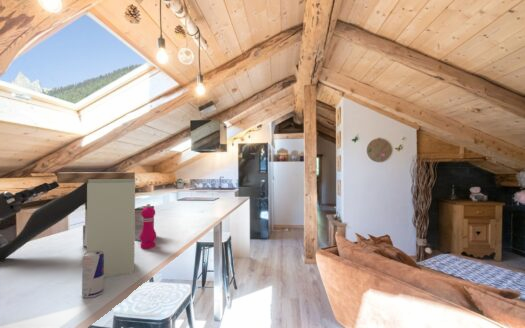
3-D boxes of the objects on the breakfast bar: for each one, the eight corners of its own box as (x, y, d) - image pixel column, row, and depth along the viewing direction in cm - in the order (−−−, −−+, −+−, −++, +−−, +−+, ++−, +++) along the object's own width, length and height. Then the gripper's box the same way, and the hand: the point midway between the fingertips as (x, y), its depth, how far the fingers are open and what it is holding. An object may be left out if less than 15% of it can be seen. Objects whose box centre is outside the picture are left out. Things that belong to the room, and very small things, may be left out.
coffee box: (142, 235, 141) (142, 205, 141) (154, 235, 141) (154, 205, 141) (133, 240, 132) (134, 208, 132) (146, 240, 132) (146, 208, 132)
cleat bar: (56, 183, 86) (57, 172, 86) (60, 182, 89) (60, 172, 89) (134, 181, 95) (134, 172, 95) (134, 181, 99) (134, 172, 99)
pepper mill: (159, 244, 125) (159, 202, 125) (151, 249, 118) (151, 205, 118) (144, 244, 125) (145, 202, 126) (136, 248, 118) (136, 204, 118)
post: (86, 279, 87) (87, 179, 87) (92, 268, 96) (92, 178, 96) (133, 272, 92) (133, 179, 92) (134, 262, 101) (135, 177, 102)
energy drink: (107, 291, 79) (108, 251, 79) (91, 299, 74) (91, 257, 74) (94, 288, 80) (95, 249, 80) (77, 296, 75) (77, 255, 75)
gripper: (14, 215, 88) (66, 192, 94) (-11, 223, 75) (52, 196, 81) (1, 195, 87) (55, 173, 93) (-26, 201, 74) (38, 174, 79)
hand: (53, 184), depth 87 cm, fingers open, 8 cm apart
